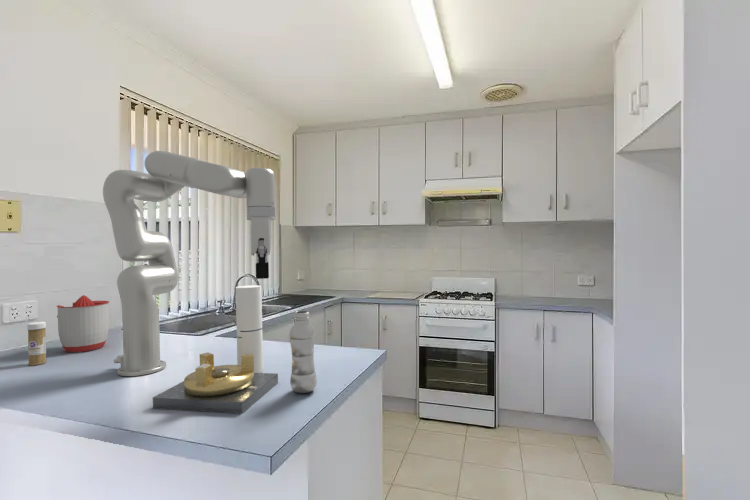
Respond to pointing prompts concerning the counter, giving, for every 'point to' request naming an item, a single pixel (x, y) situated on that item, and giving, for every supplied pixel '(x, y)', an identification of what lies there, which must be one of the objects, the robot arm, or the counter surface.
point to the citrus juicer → (83, 325)
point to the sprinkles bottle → (36, 343)
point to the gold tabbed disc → (219, 376)
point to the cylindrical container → (249, 324)
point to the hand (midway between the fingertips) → (262, 277)
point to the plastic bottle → (302, 354)
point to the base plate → (216, 397)
